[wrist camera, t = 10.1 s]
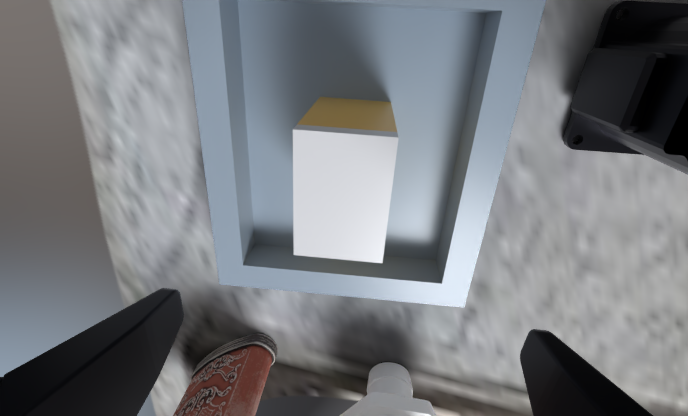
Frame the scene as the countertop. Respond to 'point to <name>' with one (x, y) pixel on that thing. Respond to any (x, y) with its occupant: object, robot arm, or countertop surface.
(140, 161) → the countertop surface
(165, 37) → the countertop surface
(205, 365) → the lighter
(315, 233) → the yellow and white block
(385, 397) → the pipe fitting
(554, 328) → the countertop surface
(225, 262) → the parts tray
